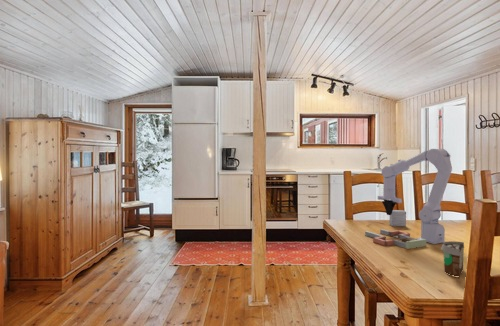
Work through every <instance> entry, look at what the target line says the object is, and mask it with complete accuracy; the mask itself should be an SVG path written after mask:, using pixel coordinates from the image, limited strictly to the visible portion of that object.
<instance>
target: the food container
mask: <svg viewBox="0 0 500 326" xmlns="http://www.w3.org/2000/svg"><path fill="white" fill-rule="evenodd" d="M464 249H465V241H464V242H463V241H455V240H453V241H446V242H444V243H442V245H441V248H440V250H441V251H442V253H443V265H444V267H443V268H444V273H445V272H446V273H448V274H450V275H454V276H459V277H460V278H461V276H460V274H461V272H462V270H463V271H464V256H465V253H464ZM446 273H445V274H446ZM462 273H463V272H462ZM448 274H447V275H448ZM450 275H449V276H450ZM461 275H462V274H461Z"/></svg>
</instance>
